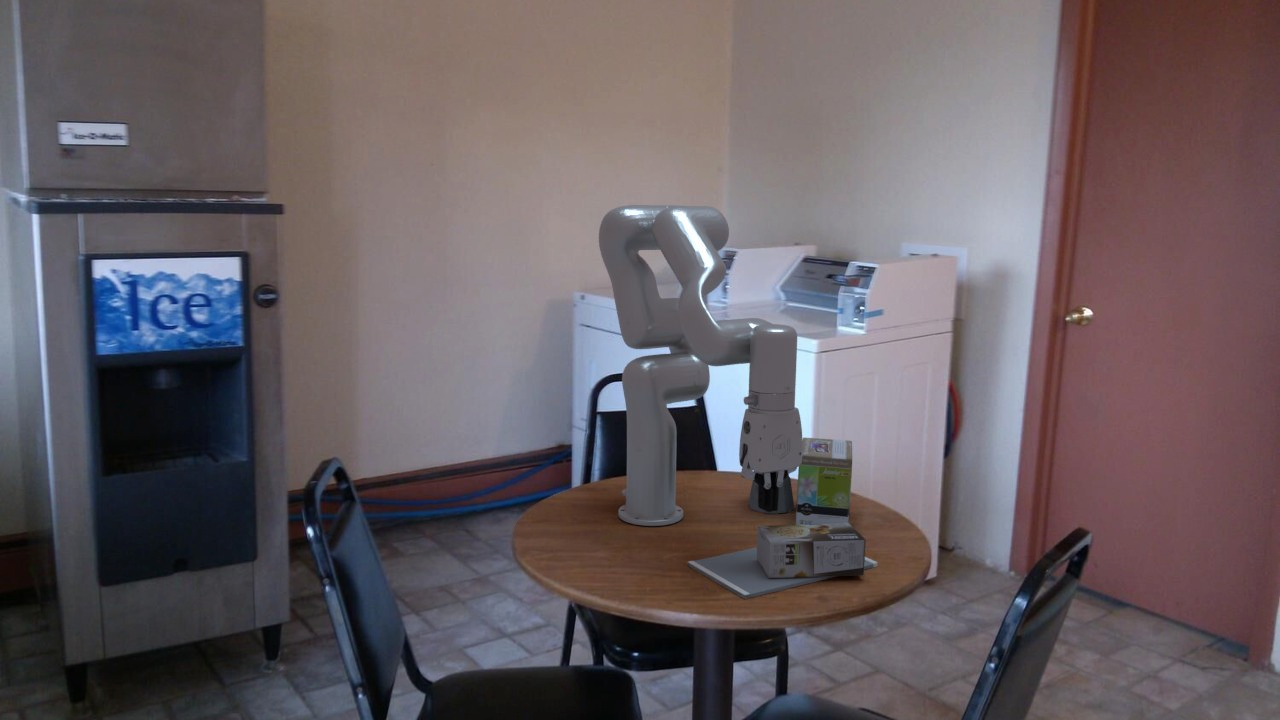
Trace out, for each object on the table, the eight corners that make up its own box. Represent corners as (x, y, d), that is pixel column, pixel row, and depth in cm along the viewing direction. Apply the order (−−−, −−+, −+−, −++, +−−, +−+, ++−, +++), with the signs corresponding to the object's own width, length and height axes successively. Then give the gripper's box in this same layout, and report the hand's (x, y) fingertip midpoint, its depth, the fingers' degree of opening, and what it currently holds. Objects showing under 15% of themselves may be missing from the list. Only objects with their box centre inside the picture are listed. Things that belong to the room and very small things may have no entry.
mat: (687, 565, 167) (687, 561, 166) (814, 537, 181) (815, 534, 181) (744, 599, 153) (744, 594, 153) (877, 566, 167) (877, 562, 167)
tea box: (849, 535, 183) (853, 458, 180) (794, 531, 185) (797, 454, 182) (849, 510, 197) (852, 438, 195) (798, 506, 199) (801, 435, 197)
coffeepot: (790, 519, 191) (794, 429, 188) (742, 515, 193) (745, 425, 190) (799, 496, 206) (802, 412, 203) (754, 492, 208) (756, 409, 205)
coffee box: (768, 580, 159) (865, 577, 161) (769, 542, 158) (866, 539, 160) (756, 559, 168) (848, 556, 170) (757, 523, 167) (849, 521, 169)
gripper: (748, 409, 153) (744, 523, 156) (822, 400, 161) (817, 508, 164) (720, 400, 160) (717, 509, 163) (792, 392, 167) (788, 496, 170)
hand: (767, 509), depth 163 cm, fingers closed
